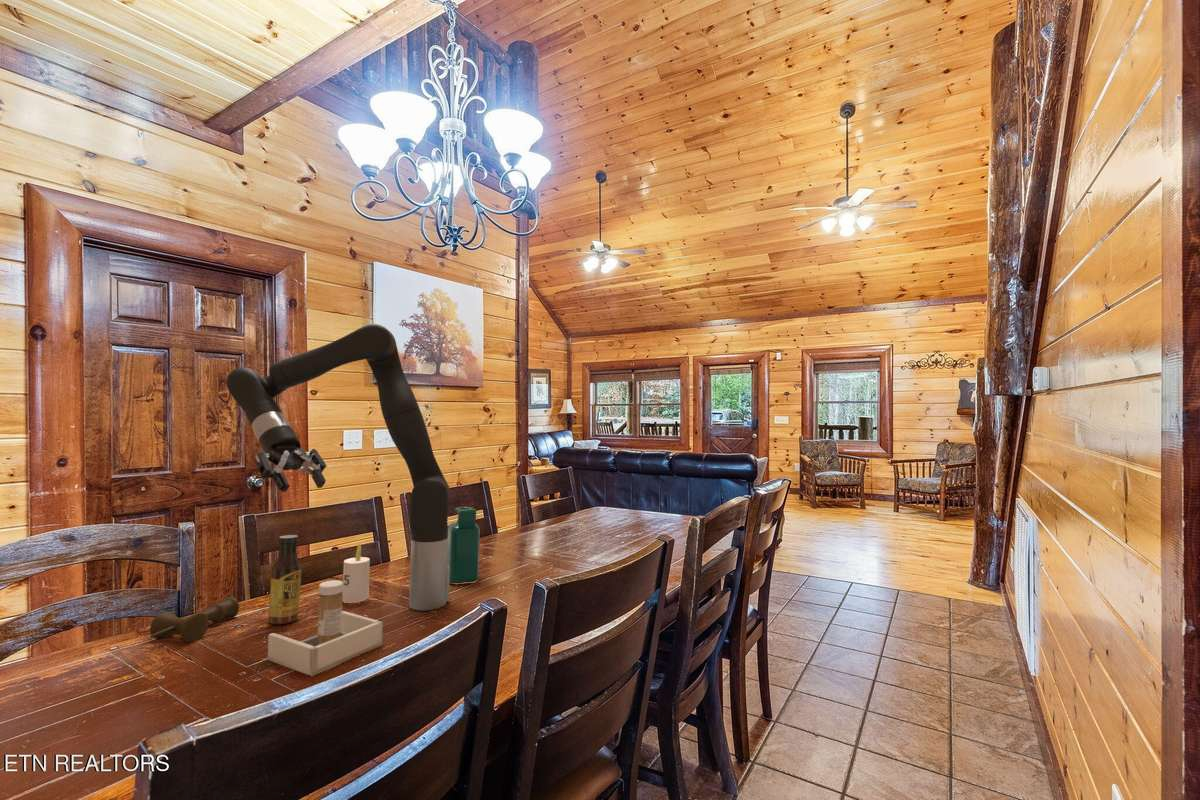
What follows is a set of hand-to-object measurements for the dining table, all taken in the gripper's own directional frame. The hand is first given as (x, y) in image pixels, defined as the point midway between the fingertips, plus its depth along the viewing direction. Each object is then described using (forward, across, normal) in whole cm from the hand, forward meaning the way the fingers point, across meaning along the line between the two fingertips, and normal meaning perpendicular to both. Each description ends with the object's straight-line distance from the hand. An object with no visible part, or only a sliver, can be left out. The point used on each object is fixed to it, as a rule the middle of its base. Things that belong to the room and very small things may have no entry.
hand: (304, 487), depth 122 cm
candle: (+17, +21, +29) cm, 40 cm away
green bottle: (+26, +48, +20) cm, 58 cm away
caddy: (+33, -3, +13) cm, 35 cm away
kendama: (+9, -11, +38) cm, 41 cm away
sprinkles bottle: (+32, -3, +13) cm, 35 cm away
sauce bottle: (+16, +3, +31) cm, 35 cm away
